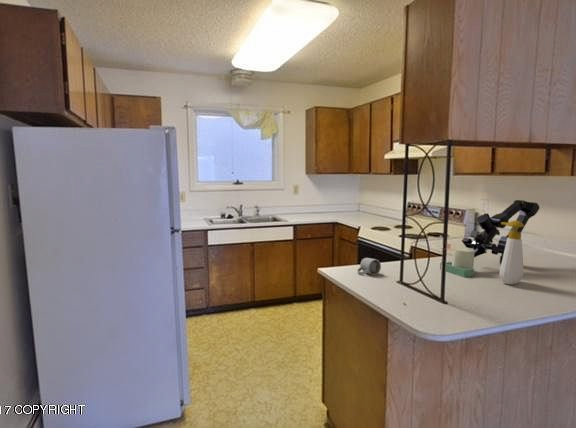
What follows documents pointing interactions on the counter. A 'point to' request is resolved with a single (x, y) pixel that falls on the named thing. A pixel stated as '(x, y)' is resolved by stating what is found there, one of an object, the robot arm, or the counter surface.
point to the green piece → (458, 270)
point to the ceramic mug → (369, 266)
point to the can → (464, 258)
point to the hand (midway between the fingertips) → (470, 257)
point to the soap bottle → (512, 256)
